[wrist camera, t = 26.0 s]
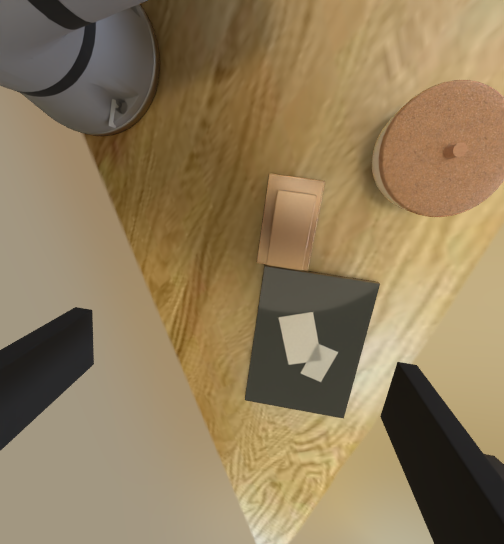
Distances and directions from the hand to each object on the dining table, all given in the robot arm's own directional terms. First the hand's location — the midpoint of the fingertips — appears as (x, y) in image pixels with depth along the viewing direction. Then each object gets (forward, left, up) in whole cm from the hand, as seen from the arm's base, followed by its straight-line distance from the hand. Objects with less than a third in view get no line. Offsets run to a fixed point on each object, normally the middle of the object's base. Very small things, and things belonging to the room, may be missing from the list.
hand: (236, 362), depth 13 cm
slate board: (+12, +7, -25) cm, 28 cm away
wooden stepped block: (-4, +2, -25) cm, 25 cm away
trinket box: (-12, +14, -25) cm, 31 cm away
